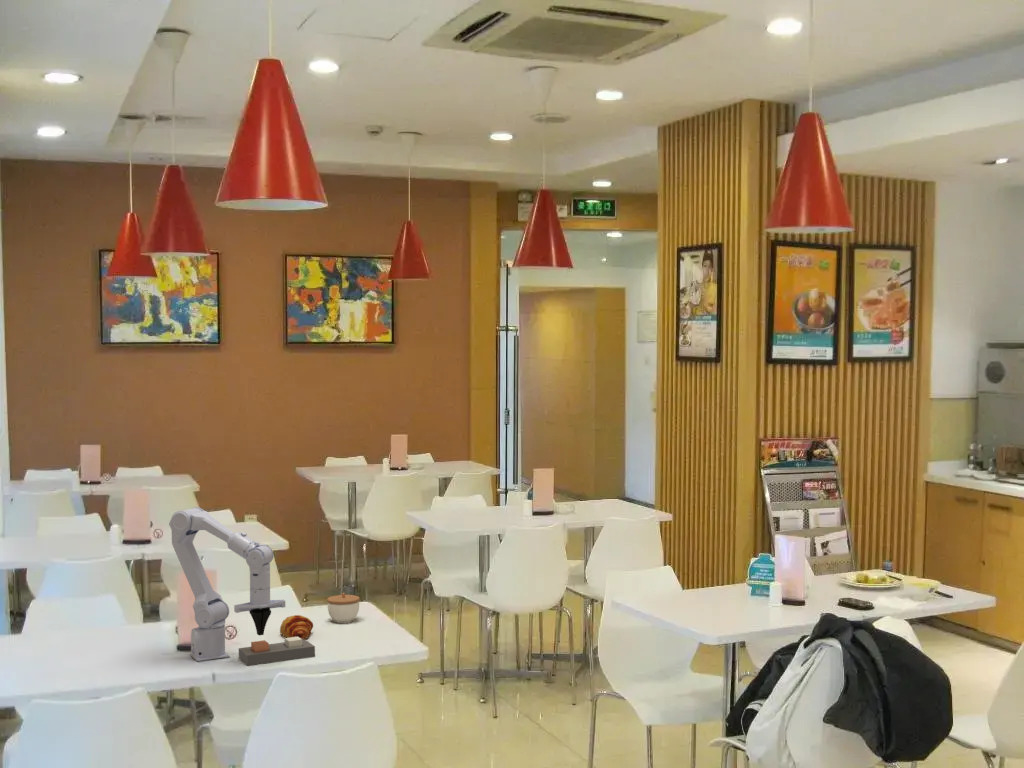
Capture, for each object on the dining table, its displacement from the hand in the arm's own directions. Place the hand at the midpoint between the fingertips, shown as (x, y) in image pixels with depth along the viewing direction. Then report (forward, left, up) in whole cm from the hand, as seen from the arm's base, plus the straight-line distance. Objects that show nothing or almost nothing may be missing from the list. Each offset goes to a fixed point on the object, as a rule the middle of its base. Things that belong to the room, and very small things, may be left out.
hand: (260, 634), depth 310 cm
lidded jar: (+38, +33, -8) cm, 51 cm away
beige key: (+10, 0, -6) cm, 11 cm away
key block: (+5, 0, -7) cm, 9 cm away
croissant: (+19, +23, -8) cm, 31 cm away
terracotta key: (0, 0, -5) cm, 5 cm away
